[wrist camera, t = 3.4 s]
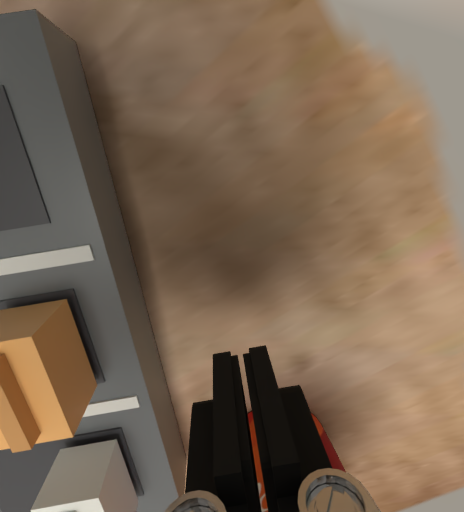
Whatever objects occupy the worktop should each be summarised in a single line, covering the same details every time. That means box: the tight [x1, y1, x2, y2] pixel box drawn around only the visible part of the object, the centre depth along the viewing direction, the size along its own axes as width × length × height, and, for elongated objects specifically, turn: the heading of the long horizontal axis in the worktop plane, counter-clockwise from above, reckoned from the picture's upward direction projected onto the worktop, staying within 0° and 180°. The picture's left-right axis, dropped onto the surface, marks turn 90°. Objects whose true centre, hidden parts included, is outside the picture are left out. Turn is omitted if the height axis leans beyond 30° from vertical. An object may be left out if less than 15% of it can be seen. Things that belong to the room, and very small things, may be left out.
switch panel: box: [0, 9, 186, 512], centre depth 14 cm, size 22×11×3 cm, turn 8°
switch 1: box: [0, 299, 97, 453], centre depth 11 cm, size 4×2×3 cm, turn 8°
